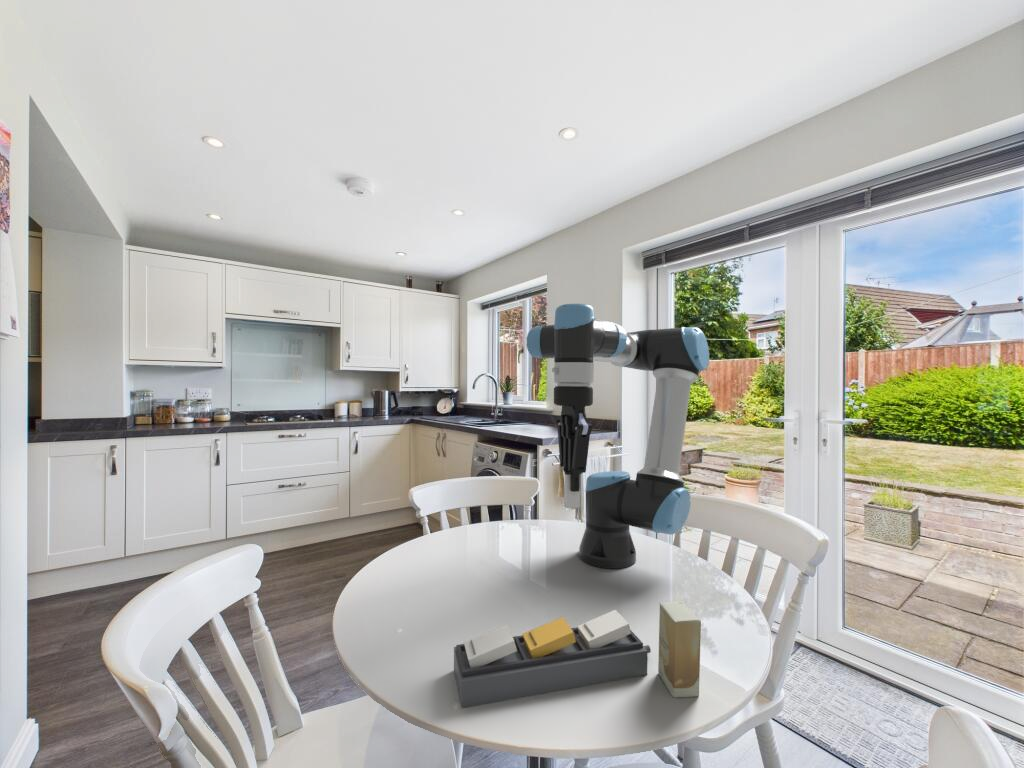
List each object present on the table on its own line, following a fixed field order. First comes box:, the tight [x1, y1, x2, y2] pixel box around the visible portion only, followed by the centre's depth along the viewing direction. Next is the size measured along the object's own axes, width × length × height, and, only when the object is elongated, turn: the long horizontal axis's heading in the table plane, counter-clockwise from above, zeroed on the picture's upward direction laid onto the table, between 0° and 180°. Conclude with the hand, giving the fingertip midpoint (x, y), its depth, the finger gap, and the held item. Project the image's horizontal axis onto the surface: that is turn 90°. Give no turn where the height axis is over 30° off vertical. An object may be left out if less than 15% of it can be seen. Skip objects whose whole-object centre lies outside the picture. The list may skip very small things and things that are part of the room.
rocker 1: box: [463, 624, 517, 668], centre depth 74 cm, size 8×5×2 cm, turn 104°
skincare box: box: [657, 600, 702, 698], centre depth 74 cm, size 6×4×12 cm
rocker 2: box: [576, 609, 632, 649], centre depth 79 cm, size 8×5×2 cm, turn 104°
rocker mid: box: [521, 616, 576, 658], centre depth 77 cm, size 8×5×2 cm, turn 104°
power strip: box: [453, 627, 652, 708], centre depth 77 cm, size 34×9×5 cm, turn 104°
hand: (572, 506), depth 89 cm, fingers closed
